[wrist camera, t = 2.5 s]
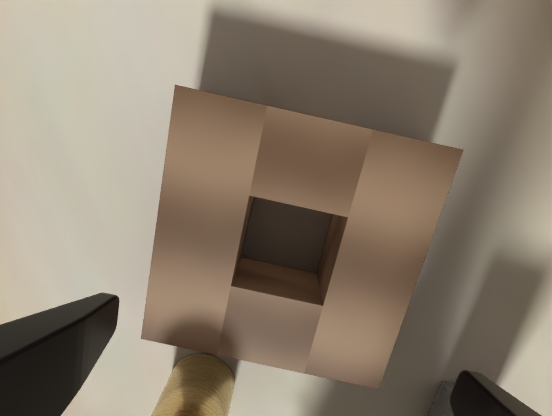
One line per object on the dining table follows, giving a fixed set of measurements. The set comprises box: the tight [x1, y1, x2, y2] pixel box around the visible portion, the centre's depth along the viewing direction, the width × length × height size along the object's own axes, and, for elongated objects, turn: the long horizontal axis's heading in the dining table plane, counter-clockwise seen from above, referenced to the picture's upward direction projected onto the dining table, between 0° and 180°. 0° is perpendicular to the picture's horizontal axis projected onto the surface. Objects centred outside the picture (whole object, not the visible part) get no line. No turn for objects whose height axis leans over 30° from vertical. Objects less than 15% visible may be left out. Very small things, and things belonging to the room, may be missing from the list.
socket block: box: [141, 85, 463, 389], centre depth 16 cm, size 12×12×4 cm
